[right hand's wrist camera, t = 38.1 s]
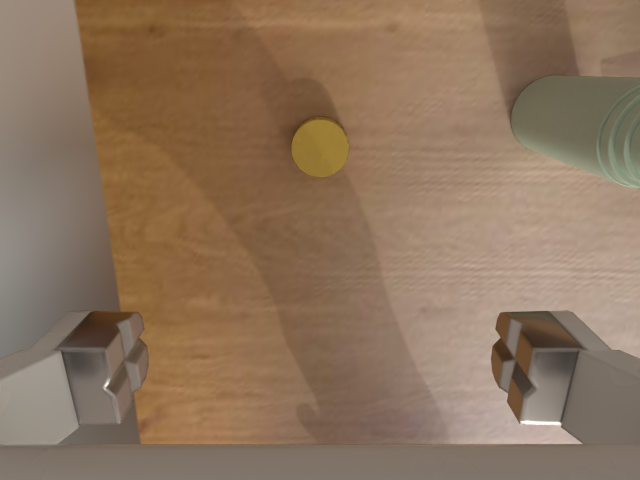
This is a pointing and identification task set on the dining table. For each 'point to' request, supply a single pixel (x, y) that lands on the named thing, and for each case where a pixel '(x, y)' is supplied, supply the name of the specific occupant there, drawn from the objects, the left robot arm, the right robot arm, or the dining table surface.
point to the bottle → (583, 124)
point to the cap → (320, 147)
